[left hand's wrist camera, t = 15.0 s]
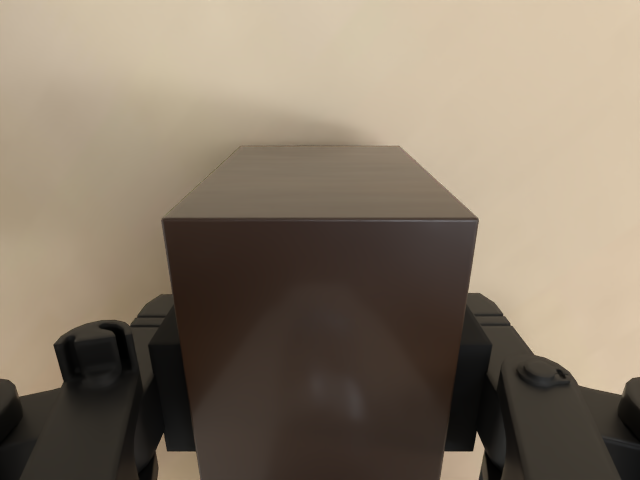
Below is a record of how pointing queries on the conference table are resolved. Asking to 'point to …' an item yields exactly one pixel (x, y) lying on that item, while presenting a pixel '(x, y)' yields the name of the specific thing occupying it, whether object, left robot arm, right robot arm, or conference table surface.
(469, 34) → the conference table surface
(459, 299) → the beam
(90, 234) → the conference table surface
